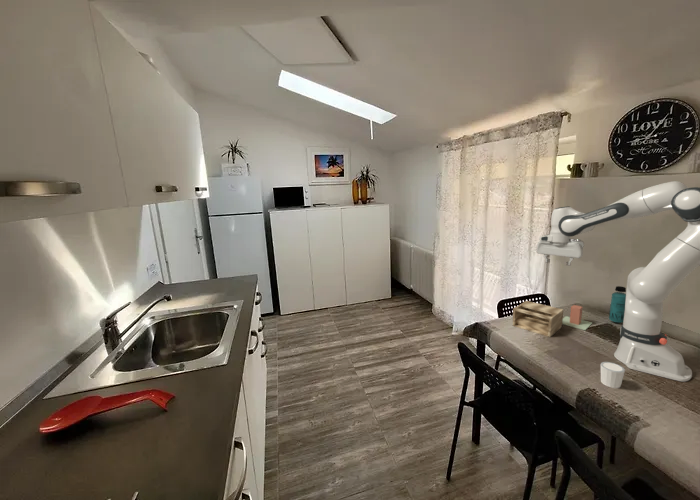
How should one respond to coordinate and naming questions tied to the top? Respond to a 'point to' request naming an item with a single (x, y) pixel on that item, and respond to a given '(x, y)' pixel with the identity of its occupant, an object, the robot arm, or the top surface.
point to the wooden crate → (538, 318)
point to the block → (576, 314)
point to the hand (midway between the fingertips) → (557, 263)
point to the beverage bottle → (618, 305)
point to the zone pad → (582, 325)
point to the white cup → (612, 374)
